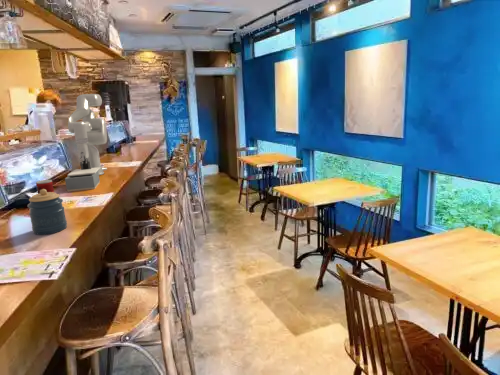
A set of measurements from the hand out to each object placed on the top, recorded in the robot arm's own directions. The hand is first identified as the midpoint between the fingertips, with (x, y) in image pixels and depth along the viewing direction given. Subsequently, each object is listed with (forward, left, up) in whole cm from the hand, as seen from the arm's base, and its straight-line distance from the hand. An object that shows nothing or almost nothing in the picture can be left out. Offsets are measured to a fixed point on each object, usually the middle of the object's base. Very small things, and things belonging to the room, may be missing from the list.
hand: (86, 168), depth 248 cm
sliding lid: (+5, +5, -1) cm, 8 cm away
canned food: (+41, +21, -10) cm, 46 cm away
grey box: (+11, +11, -9) cm, 18 cm away
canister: (+70, +73, -10) cm, 101 cm away
